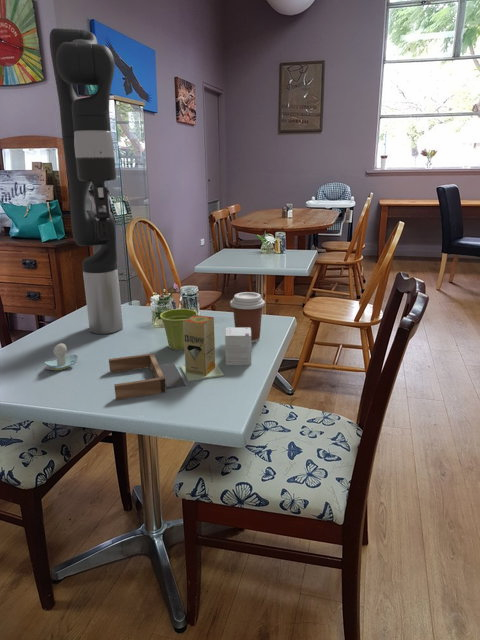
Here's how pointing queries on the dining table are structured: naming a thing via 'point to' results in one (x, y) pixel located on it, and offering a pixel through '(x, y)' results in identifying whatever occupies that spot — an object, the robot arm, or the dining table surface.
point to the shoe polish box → (199, 344)
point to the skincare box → (238, 346)
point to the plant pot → (176, 326)
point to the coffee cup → (248, 312)
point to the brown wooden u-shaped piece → (140, 386)
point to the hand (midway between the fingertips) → (103, 237)
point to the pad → (191, 377)
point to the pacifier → (61, 359)
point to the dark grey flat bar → (172, 376)
